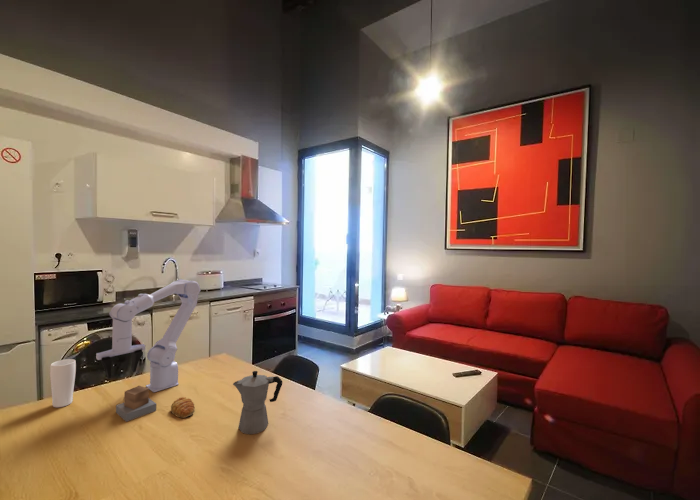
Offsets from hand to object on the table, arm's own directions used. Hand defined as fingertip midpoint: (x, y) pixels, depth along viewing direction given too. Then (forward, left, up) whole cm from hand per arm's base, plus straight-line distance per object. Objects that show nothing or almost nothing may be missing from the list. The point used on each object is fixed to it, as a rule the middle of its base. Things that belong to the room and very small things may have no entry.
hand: (121, 374), depth 116 cm
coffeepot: (-23, +50, -10) cm, 56 cm away
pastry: (-12, +23, -10) cm, 28 cm away
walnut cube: (-1, +12, -7) cm, 14 cm away
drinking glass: (+14, -12, -10) cm, 21 cm away
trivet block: (-1, +12, -10) cm, 16 cm away
